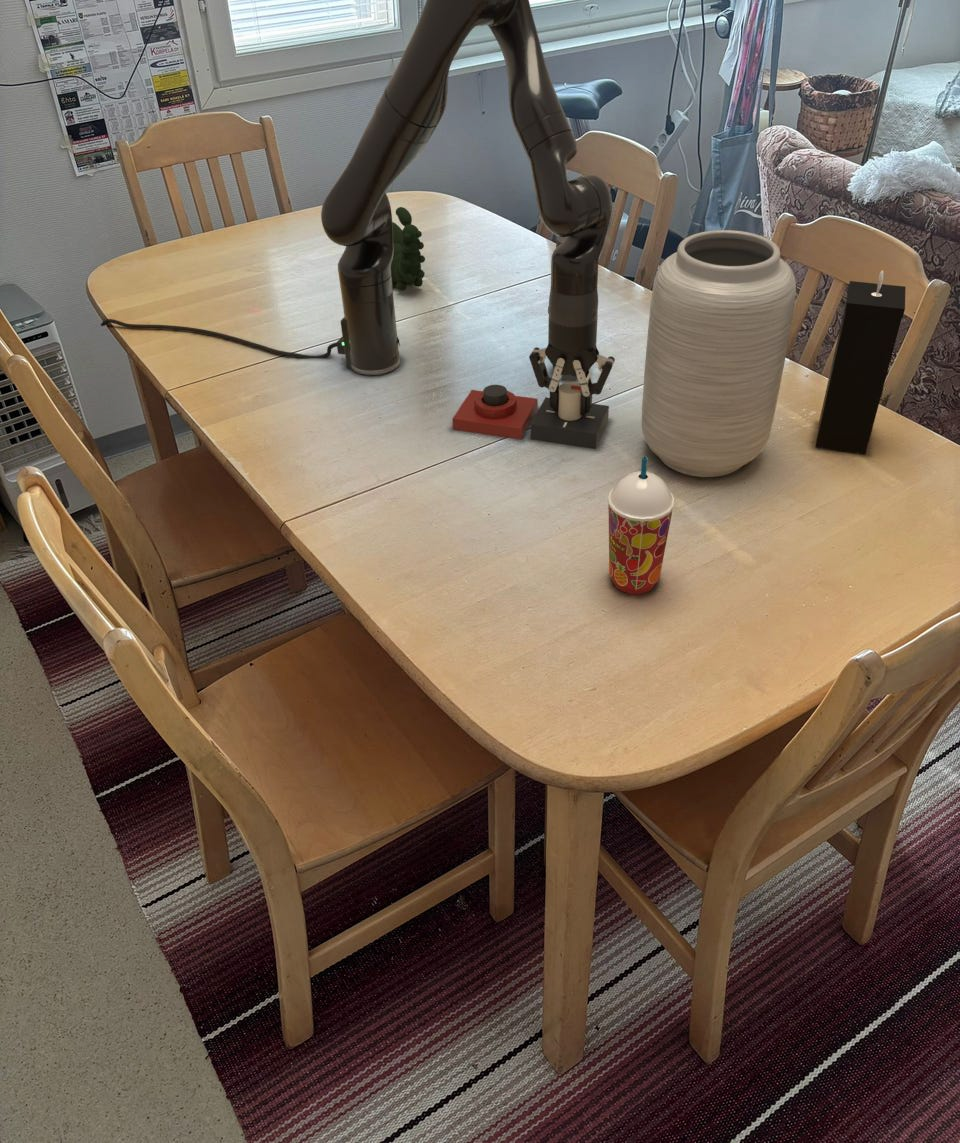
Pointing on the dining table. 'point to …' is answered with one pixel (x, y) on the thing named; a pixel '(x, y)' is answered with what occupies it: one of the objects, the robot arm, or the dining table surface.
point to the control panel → (569, 426)
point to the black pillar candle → (860, 365)
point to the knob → (569, 401)
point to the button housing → (496, 415)
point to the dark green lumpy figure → (406, 252)
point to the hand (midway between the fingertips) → (570, 410)
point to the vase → (716, 351)
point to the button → (495, 395)
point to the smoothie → (638, 530)
